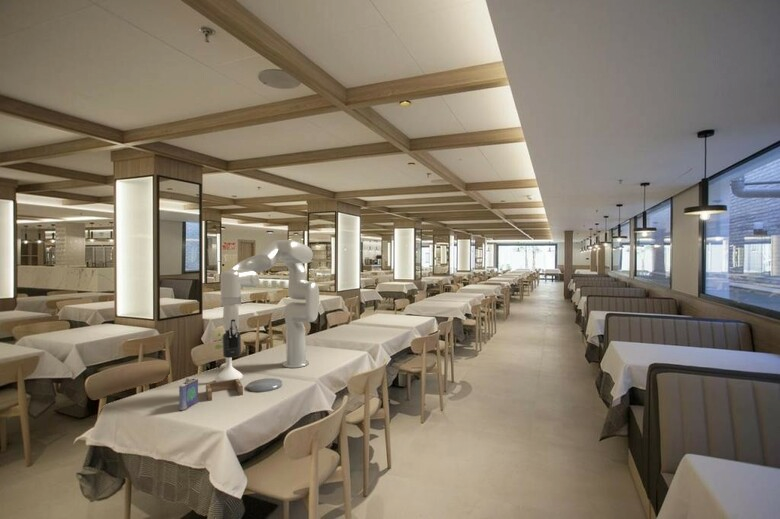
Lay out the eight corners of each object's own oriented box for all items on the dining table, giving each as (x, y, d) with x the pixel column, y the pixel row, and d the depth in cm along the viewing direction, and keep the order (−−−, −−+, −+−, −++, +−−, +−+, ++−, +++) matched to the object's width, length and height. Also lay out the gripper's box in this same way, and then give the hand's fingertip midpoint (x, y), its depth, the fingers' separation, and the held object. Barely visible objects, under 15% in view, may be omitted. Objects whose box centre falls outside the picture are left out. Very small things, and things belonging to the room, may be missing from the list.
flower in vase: (239, 376, 179) (239, 321, 178) (245, 382, 169) (245, 325, 169) (208, 381, 171) (208, 324, 171) (213, 388, 162) (212, 328, 162)
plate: (244, 384, 166) (244, 381, 166) (277, 379, 173) (277, 376, 173) (250, 394, 154) (250, 391, 154) (285, 388, 161) (285, 385, 161)
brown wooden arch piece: (205, 392, 157) (205, 383, 157) (238, 386, 163) (238, 378, 163) (208, 400, 147) (208, 391, 147) (242, 394, 154) (242, 386, 154)
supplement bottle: (223, 354, 159) (222, 325, 158) (240, 352, 161) (240, 324, 161) (222, 358, 152) (222, 328, 152) (241, 356, 155) (240, 326, 155)
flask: (184, 411, 138) (183, 381, 138) (176, 411, 138) (176, 381, 138) (199, 401, 147) (199, 373, 147) (192, 401, 147) (192, 373, 147)
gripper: (218, 300, 162) (219, 342, 162) (223, 304, 147) (224, 351, 147) (237, 298, 166) (238, 340, 166) (244, 303, 151) (245, 348, 151)
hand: (232, 345), depth 157 cm, fingers closed on supplement bottle, 6 cm apart
